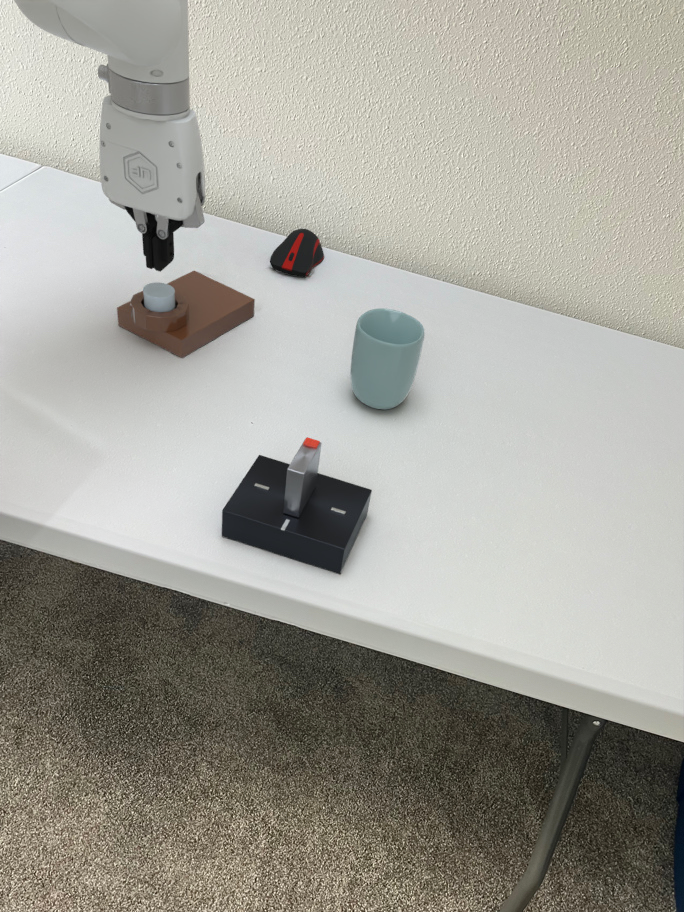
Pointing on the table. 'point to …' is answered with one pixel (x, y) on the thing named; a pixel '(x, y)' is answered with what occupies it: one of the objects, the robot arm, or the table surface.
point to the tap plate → (305, 538)
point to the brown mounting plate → (188, 314)
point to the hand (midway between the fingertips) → (159, 264)
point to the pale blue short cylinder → (159, 297)
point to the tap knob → (302, 477)
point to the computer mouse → (297, 253)
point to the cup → (385, 357)
